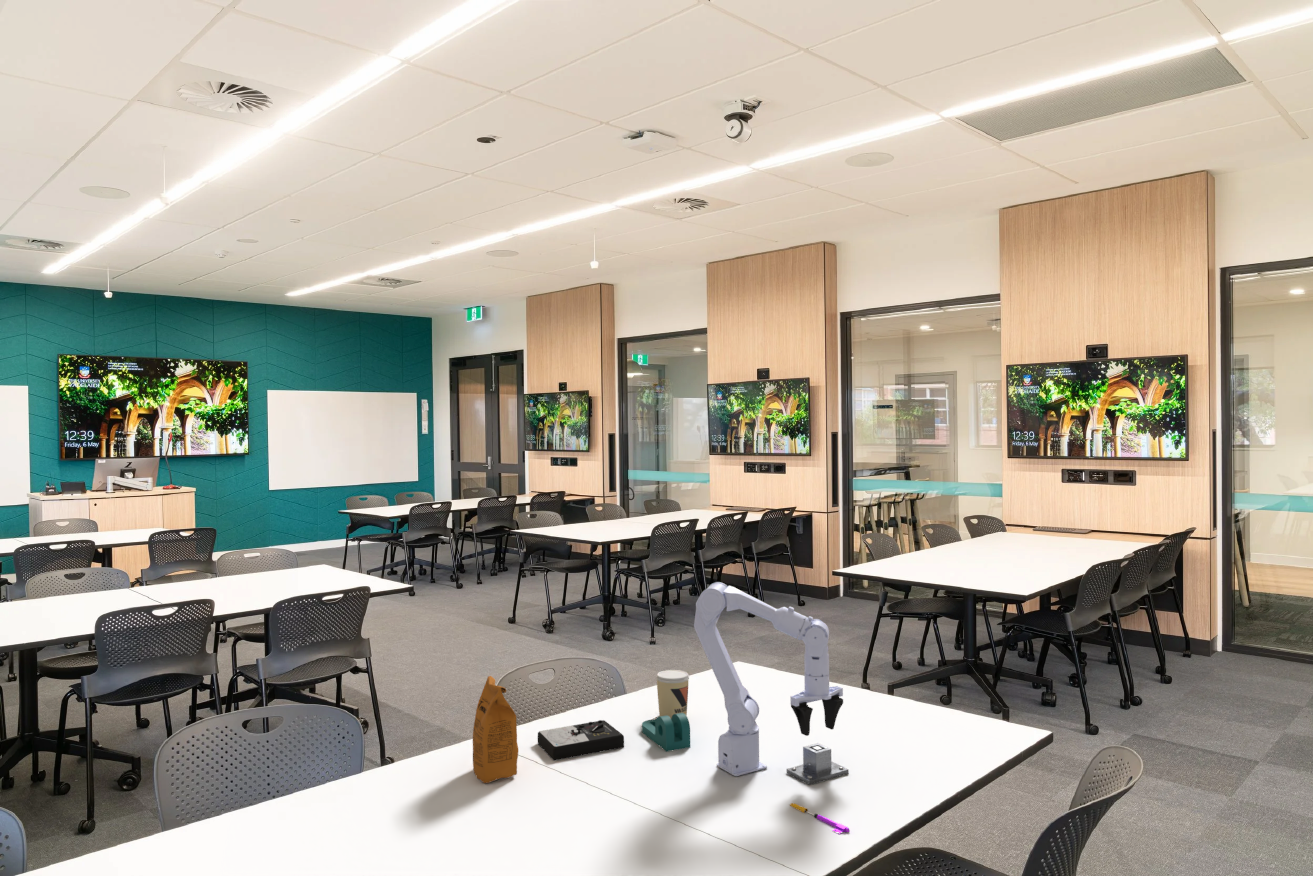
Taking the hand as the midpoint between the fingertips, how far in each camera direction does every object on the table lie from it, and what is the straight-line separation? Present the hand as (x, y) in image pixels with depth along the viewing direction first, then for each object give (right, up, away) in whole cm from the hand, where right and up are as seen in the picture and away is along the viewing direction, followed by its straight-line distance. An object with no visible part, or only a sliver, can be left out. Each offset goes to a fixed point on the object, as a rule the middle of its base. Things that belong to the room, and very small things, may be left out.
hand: (817, 731), depth 197 cm
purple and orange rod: (-5, -11, -23) cm, 26 cm away
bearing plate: (0, -10, 0) cm, 10 cm away
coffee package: (-76, -11, +2) cm, 77 cm away
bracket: (-36, -11, +24) cm, 45 cm away
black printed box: (-57, -11, +20) cm, 62 cm away
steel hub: (0, -9, 0) cm, 9 cm away
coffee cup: (-33, -10, +41) cm, 54 cm away
